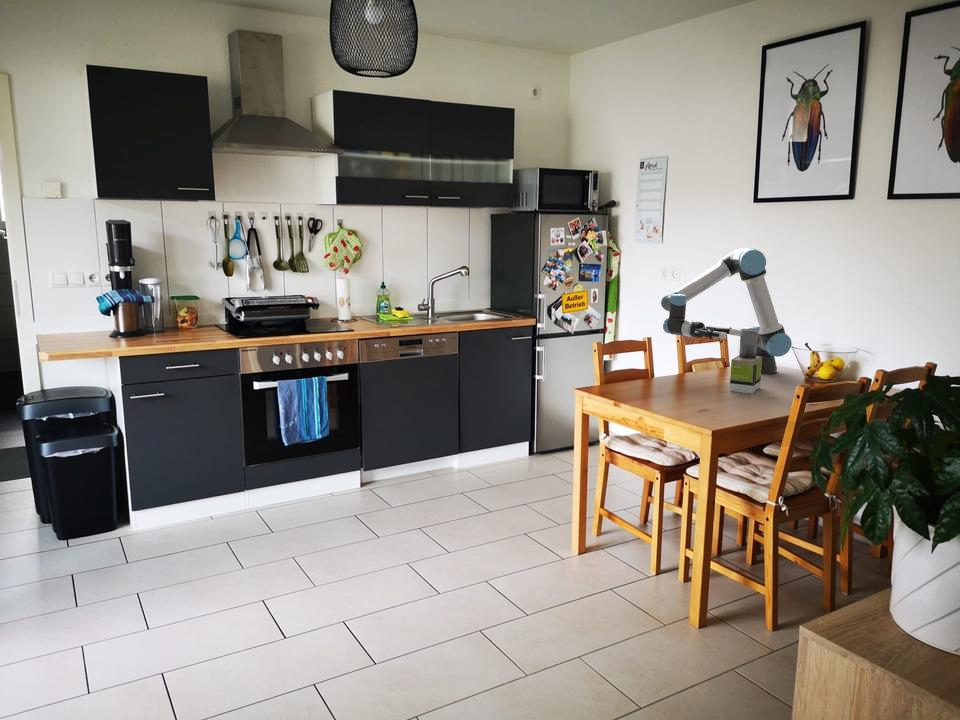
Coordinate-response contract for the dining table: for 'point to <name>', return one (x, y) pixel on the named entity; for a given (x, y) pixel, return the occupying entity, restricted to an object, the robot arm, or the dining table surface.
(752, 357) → the tin canister
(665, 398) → the dining table surface
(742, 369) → the tea box
